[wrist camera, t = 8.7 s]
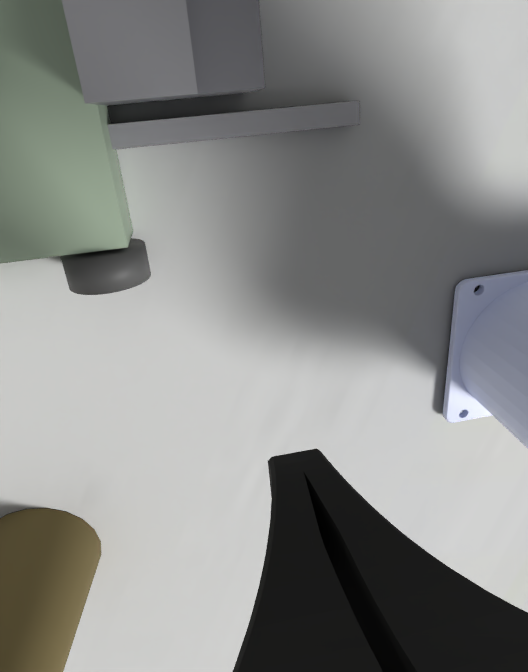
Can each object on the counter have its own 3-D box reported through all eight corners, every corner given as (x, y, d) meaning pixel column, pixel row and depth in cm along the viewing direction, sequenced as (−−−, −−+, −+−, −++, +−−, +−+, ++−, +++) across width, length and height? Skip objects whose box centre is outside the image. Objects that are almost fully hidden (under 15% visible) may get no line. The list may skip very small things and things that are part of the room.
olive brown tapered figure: (-20, 503, 23) (-163, 795, 13) (109, 512, 25) (67, 778, 15) (-25, 589, 25) (-150, 893, 15) (93, 592, 27) (48, 869, 17)
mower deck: (349, -364, 13) (465, -675, 8) (350, 237, 20) (411, 279, 15) (-477, -385, 11) (-1081, -847, 6) (-138, 301, 18) (-261, 376, 13)
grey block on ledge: (230, -83, 15) (252, -157, 11) (246, 93, 17) (269, 87, 13) (69, -75, 15) (27, -151, 10) (106, 105, 17) (85, 103, 13)
